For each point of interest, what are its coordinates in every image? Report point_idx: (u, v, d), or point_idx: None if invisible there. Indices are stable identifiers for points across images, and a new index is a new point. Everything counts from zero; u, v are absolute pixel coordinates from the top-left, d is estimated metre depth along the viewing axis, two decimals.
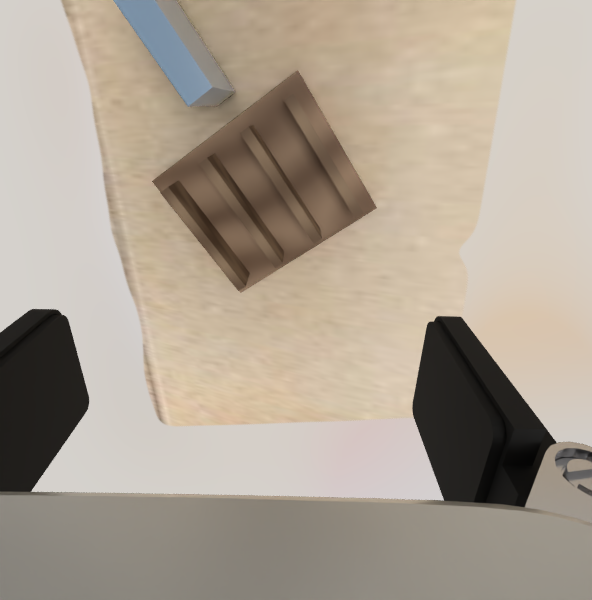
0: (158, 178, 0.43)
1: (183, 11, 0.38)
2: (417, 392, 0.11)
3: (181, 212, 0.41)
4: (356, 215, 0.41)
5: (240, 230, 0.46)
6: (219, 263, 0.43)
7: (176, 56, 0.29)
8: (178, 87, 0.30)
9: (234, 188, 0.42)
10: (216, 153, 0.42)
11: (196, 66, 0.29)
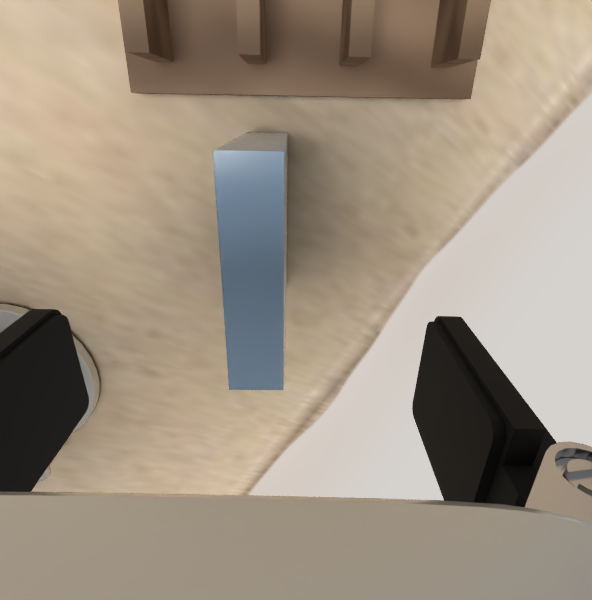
0: (457, 95, 0.22)
1: None
2: (417, 392, 0.11)
3: None
4: None
5: None
6: None
7: (244, 236, 0.15)
8: (278, 193, 0.14)
9: None
10: (336, 62, 0.22)
11: (220, 200, 0.14)
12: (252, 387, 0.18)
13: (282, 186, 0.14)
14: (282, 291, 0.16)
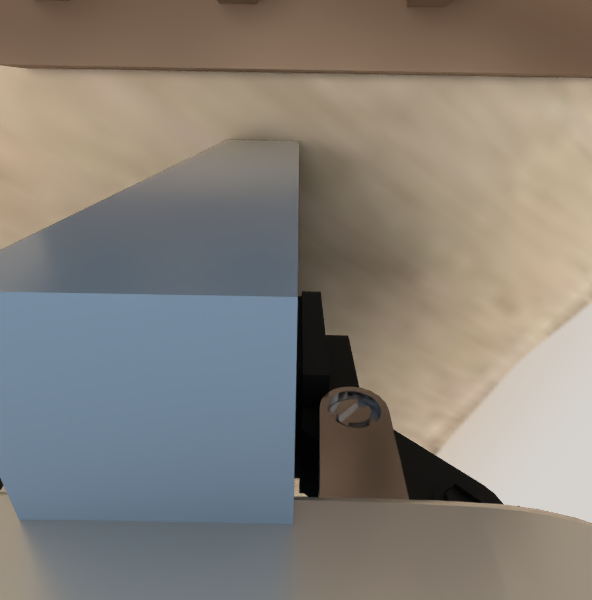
0: None
1: None
2: None
3: None
4: None
5: None
6: None
7: None
8: (269, 456, 0.03)
9: None
10: (401, 1, 0.11)
11: (21, 478, 0.03)
12: None
13: (288, 433, 0.03)
14: None
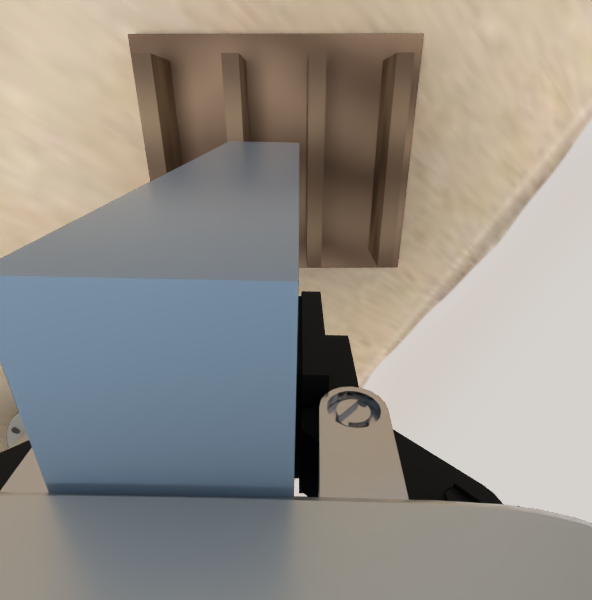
0: None
1: None
2: None
3: (389, 229, 0.27)
4: (146, 56, 0.23)
5: (345, 139, 0.28)
6: (402, 124, 0.24)
7: None
8: (273, 425, 0.04)
9: (306, 206, 0.28)
10: (303, 248, 0.32)
11: (50, 445, 0.04)
12: None
13: (290, 405, 0.03)
14: None
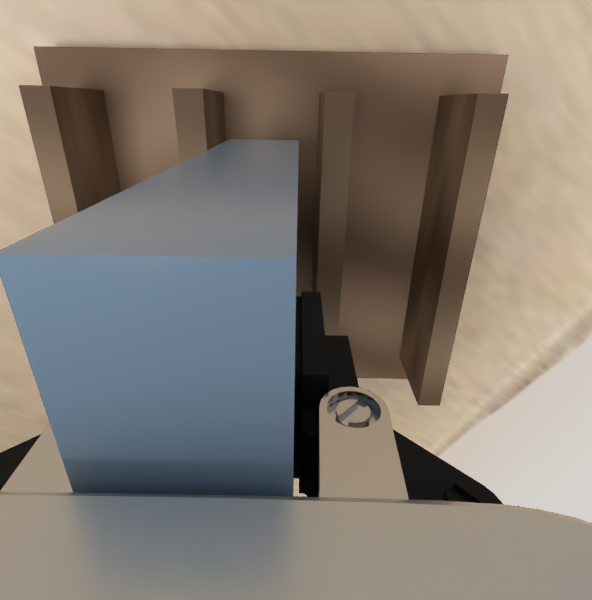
0: None
1: None
2: None
3: (439, 357, 0.18)
4: (43, 91, 0.13)
5: (374, 210, 0.19)
6: (476, 208, 0.15)
7: None
8: (272, 397, 0.04)
9: None
10: None
11: (65, 417, 0.04)
12: None
13: (289, 377, 0.04)
14: None
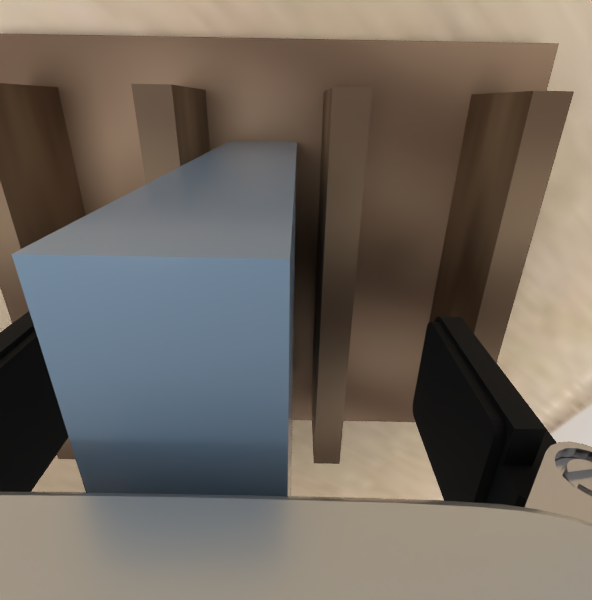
0: None
1: None
2: (417, 392, 0.11)
3: None
4: None
5: (388, 231, 0.16)
6: (523, 237, 0.12)
7: None
8: (268, 387, 0.04)
9: (315, 351, 0.16)
10: (308, 394, 0.19)
11: (75, 407, 0.04)
12: None
13: (283, 369, 0.04)
14: None
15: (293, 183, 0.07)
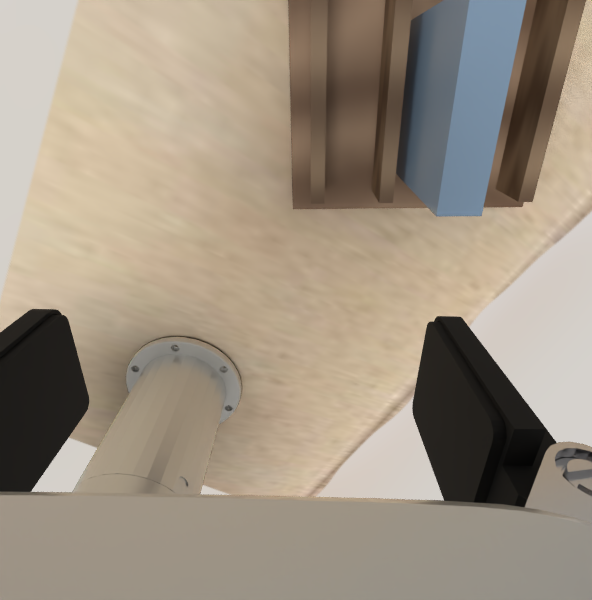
0: (513, 205, 0.33)
1: None
2: (417, 392, 0.11)
3: (536, 162, 0.28)
4: None
5: None
6: (568, 51, 0.24)
7: (480, 64, 0.18)
8: (517, 21, 0.17)
9: None
10: None
11: (468, 30, 0.18)
12: (455, 213, 0.21)
13: (522, 14, 0.17)
14: (501, 117, 0.19)
15: None
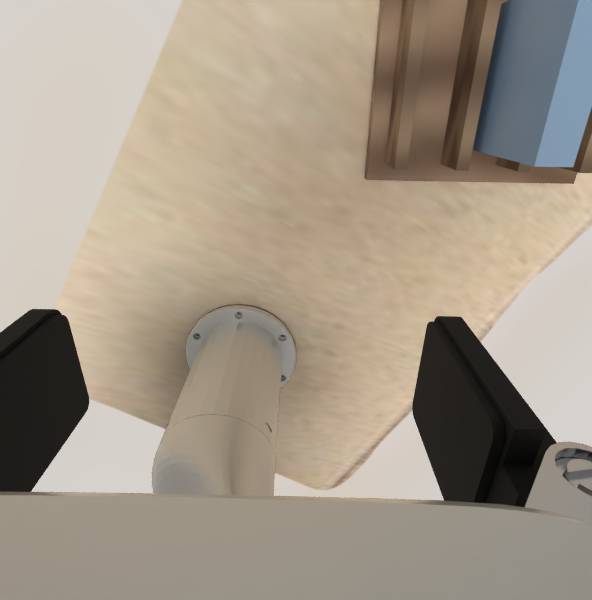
0: (565, 181, 0.37)
1: None
2: (417, 392, 0.11)
3: None
4: None
5: None
6: None
7: (588, 31, 0.22)
8: None
9: None
10: (494, 163, 0.36)
11: (581, 1, 0.21)
12: (551, 164, 0.25)
13: None
14: None
15: None
